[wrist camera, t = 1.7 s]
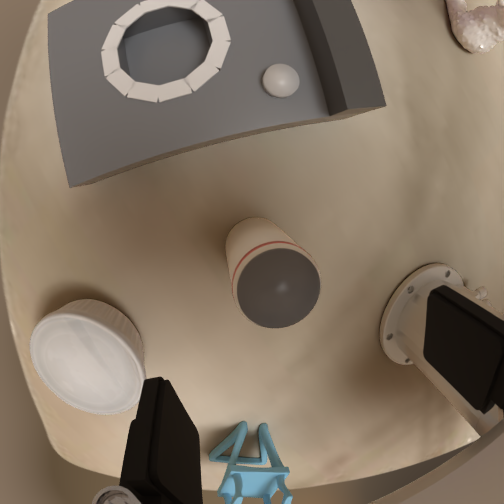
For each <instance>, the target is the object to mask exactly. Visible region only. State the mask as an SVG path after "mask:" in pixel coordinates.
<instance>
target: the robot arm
mask: <svg viewBox="0 0 504 504" xmlns="http://www.w3.org/2000/svg"><path fill="white" fill-rule="evenodd" d="M486 295H487V290H486V288H485V287H483V286H482V287H480V288H478V289H476V290H475V291H474V292H473V291H471V290H469V289H468V288H466V287H464V284H463V281H462V279H461V276H460V275H459V274H458V272H457V271H456V270H454V269H453V268H451V267H449V266H447V265H445V264H439V263H435V264H429V265H427V266H424V267H422V268H420V269H418V270H417V271H415V272H413V273H412V274H411V275H410V276H409V277H408V278H406V279H405V280H404V281H403V283H402V284H401V285H400V286H399V287H398V288H397V290H396V291H395V293H394V294H393V296H392V297H391V299H390V301H389V303H388V305H387V307H386V309H385V311H384V314H383V317H382V321H381V325H380V343H381V346H382V349H383V351H384V352H385V354H386V355H387V356H388V357H389V358H390V359H391V360H392V361H393V362H395V363H398V364H401V365H410V364H415V365H416V366H417V367H418V369H419V370H420V371H421V372H422V373H423V374H424V375H425V376H426V377H427V378H428V379H429V380H430V381H431V382H432V383H433V384H434V386H435V387H436V388H437V389H438V390H439V391H440V392H441V393H442V394H443V395H444V396H445V397H446V398H447V400H448V401H449V402H450V403H451V404H452V405H453V406H454V407H455V408H456V409H457V411H458V412H459V413H460V414H461V415H462V416H463V417H464V418H465V419H466V421H467V422H468V423H469V424H470V425H471V426H472V427H473V428H474V430H475V431H476V432H477V433H478V434H479V435H480V436H481V437H480V438H479V439H478V440H476V441H475V442H474V443H472V444H471V445H470V446H468V447H467V448H466V449H464V450H463V451H461V452H460V453H459V454H457V455H456V456H454V457H453V458H451V459H450V460H448V461H447V462H445V463H444V464H442V465H441V466H439V467H437V468H436V469H434V470H433V471H431V472H429V473H428V474H426V475H424V476H422V477H421V478H419V479H417V480H416V481H414V482H412V483H410V484H408V485H406V486H405V487H402V488H400V489H399V490H397V491H395V492H393V493H391V494H388V495H386V496H384V497H382V498H380V499H378V500H375V501H373V502H371V503H369V504H504V314H502V313H500V312H499V311H497V310H496V309H494V308H492V307H491V303H490V301H489V300H488V299H484V300H482V301H481V299H482V298H484V297H486ZM92 504H203V500H202V485H201V466H200V441H199V434H198V431H197V429H196V427H195V425H194V424H193V422H192V420H191V418H190V417H189V415H188V413H187V412H186V410H185V408H184V406H183V405H182V403H181V401H180V399H179V398H178V396H177V394H176V392H175V390H174V388H173V387H172V385H171V383H170V381H169V380H164V379H163V378H162V377H156V378H150V379H145V380H144V382H143V387H142V391H141V396H140V400H139V405H138V410H137V415H136V419H134V420H133V421H132V422H131V424H130V429H129V434H128V439H127V444H126V449H125V455H124V460H123V466H122V472H121V478H120V484H119V486H109V487H106V488H104V489H102V490H101V491H100V492H98V493H97V495H96V496H95V497H94V499H93V502H92Z"/></svg>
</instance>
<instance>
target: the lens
mask: <svg viewBox="0 0 504 504" xmlns="http://www.w3.org/2000/svg"><path fill="white" fill-rule="evenodd" d="M225 251H226V257H227V263H228V268H229V274H230V279H231V285H232V293H233V297H234V300H235V303H236V306H237V308H238V309H239V311H240V312H241V314H242V315H243V316H244V317H245V318H246V319H248V320H249V321H250V322H252V323H254V324H256V325H259V326H262V327H267V328H283V327H288V326H290V325H293V324H295V323H297V322H299V321H300V320H302V319H303V318H304V317H306V316H307V315H308V314H309V313H310V311H311V310H312V309H313V307H314V306H315V304H316V302H317V300H318V297H319V294H320V290H321V275H320V271H319V268H318V266H317V264H316V262H315V261H314V260H313V258H312V257H311V256H310V255H309V254H308V253H307V252H306V251H305V250H304V249H302V248H301V247H300V246H299V245H298V244H297V243H296V242H294V241H293V240H292V239H291V238H290V237H289V236H288V235H287V234H285V233H284V232H283V231H282V230H281V229H280V228H279V227H278V226H276V225H275V224H274V223H273V222H271V221H269V220H267V219H264V218H259V217H253V218H248V219H245V220H243V221H241V222H239V223H237V224H236V225H235V226H234V227H233V228H232V229H231V231H230V232H229V234H228V236H227V239H226V244H225Z"/></svg>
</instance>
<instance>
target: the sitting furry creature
mask: <svg viewBox="0 0 504 504" xmlns="http://www.w3.org/2000/svg"><path fill="white" fill-rule="evenodd" d="M445 1H446V3H447V9H448V14H449V19H450V21H451V27H452V32H453V34H454V35H455V38H456V39H457V40H458V42H459V43H460V44H461V45H462V46H463V48H464V49H467V50H468V51H470V52H471V53H479V54H482V53H485V52H488V51H490V49H493V46H494V45H496V43H499V42H501V41H503V40H504V0H498V1H497V3H496V5H495V6H490V7H488V6H484V7H483V6H479V7H477V8H475V10H470V11H466V7H467V5H466V3H465V1H464V0H445Z"/></svg>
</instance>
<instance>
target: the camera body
mask: <svg viewBox="0 0 504 504" xmlns="http://www.w3.org/2000/svg"><path fill="white" fill-rule="evenodd" d="M48 53H49V69H50V80H51V90H52V98H53V106H54V113H55V120H56V126H57V132H58V137H59V142H60V147H61V152H62V157H63V162H64V166H65V170H66V175H67V179H68V183H69V187H70V188H71V187H77V186H82V185H88V184H92V183H95V182H97V181H100V180H102V179H105V178H108V177H110V176H113V175H116V174H119V173H121V172H124V171H127V170H130V169H133V168H136V167H139V166H142V165H145V164H148V163H151V162H154V161H157V160H160V159H163V158H167V157H170V156H173V155H177V154H180V153H183V152H187V151H190V150H194V149H198V148H201V147H205V146H209V145H213V144H217V143H221V142H225V141H229V140H233V139H237V138H241V137H246V136H250V135H255V134H260V133H264V132H269V131H274V130H279V129H285V128H290V127H296V126H301V125H307V124H314V123H320V122H327V121H334V120H341V119H346V118H349V117H352V116H355V115H358V114H361V113H365V112H368V111H371V110H375V109H378V108H382V107H385V106H386V103H385V99H384V95H383V91H382V88H381V84H380V80H379V77H378V74H377V70H376V67H375V64H374V61H373V58H372V55H371V52H370V49H369V46H368V43H367V40H366V37H365V34H364V32H363V29H362V26H361V24H360V21H359V19H358V16H357V14H356V11H355V9H354V6H353V4H352V2H351V0H74V1H71V2H69V3H67V4H65V5H63V6H62V7H60V8H58V9H56V10H54V11H52V12H50V13H49V14H48Z"/></svg>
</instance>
